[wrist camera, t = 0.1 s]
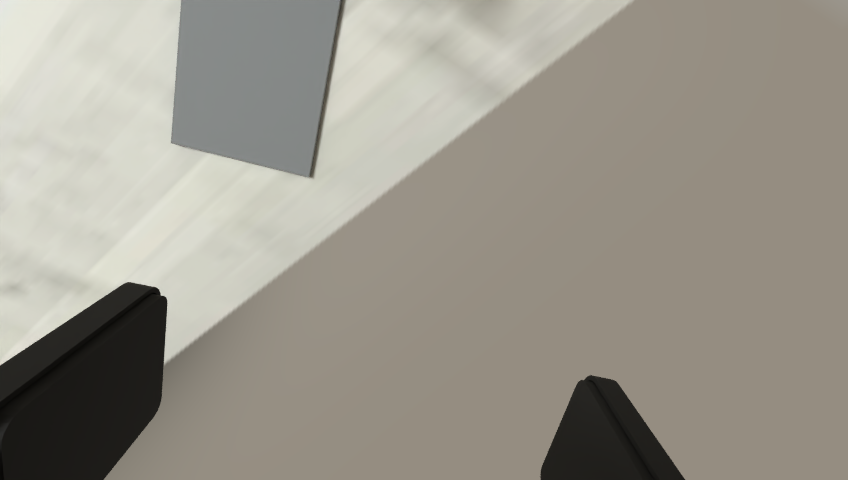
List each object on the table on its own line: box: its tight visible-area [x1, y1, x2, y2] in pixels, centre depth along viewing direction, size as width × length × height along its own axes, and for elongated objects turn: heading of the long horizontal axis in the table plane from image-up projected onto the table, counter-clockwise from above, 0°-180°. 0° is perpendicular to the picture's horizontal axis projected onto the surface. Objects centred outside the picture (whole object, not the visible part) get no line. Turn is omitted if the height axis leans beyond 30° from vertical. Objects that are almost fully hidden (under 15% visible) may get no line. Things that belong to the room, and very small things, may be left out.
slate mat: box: [171, 0, 341, 177], centre depth 36 cm, size 18×12×1 cm, turn 165°
